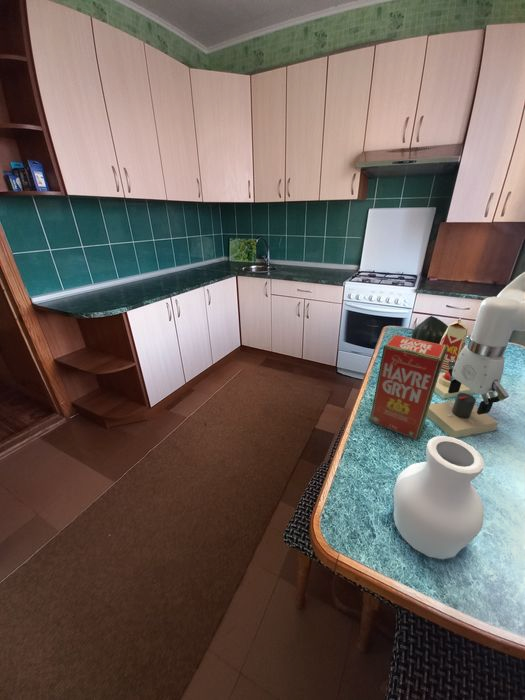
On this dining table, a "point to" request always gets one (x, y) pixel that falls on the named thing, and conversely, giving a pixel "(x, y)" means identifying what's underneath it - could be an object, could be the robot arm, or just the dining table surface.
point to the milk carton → (453, 342)
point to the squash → (430, 330)
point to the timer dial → (463, 405)
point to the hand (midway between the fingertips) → (467, 402)
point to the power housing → (443, 388)
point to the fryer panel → (460, 420)
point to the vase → (440, 499)
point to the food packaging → (406, 384)
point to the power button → (447, 376)
